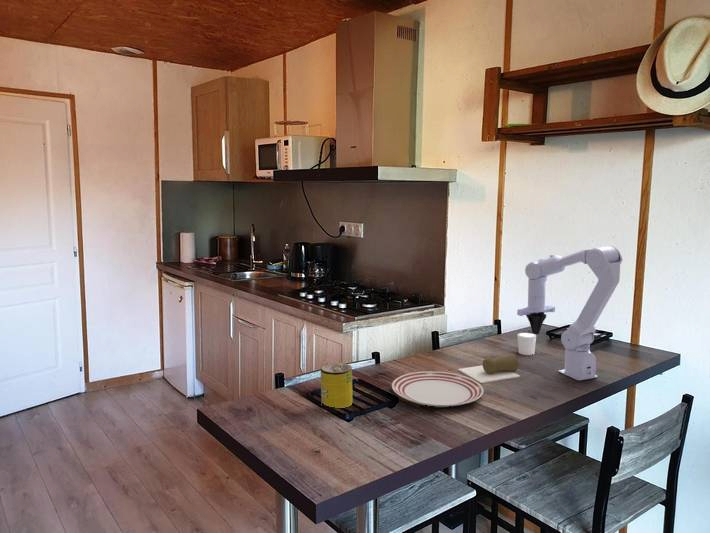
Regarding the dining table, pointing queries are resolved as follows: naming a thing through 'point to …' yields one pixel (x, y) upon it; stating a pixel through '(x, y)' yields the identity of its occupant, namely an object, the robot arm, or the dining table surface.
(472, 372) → the mat
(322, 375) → the yellow tin can
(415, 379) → the dinner plate
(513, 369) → the olive waisted cylinder
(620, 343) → the dining table surface
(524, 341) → the white short cylinder
